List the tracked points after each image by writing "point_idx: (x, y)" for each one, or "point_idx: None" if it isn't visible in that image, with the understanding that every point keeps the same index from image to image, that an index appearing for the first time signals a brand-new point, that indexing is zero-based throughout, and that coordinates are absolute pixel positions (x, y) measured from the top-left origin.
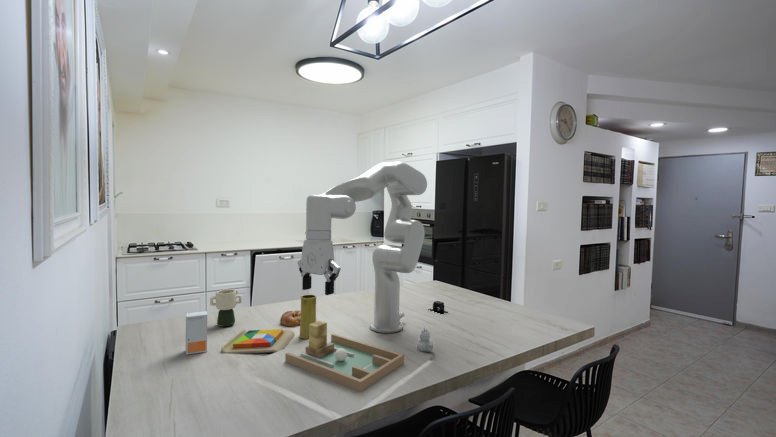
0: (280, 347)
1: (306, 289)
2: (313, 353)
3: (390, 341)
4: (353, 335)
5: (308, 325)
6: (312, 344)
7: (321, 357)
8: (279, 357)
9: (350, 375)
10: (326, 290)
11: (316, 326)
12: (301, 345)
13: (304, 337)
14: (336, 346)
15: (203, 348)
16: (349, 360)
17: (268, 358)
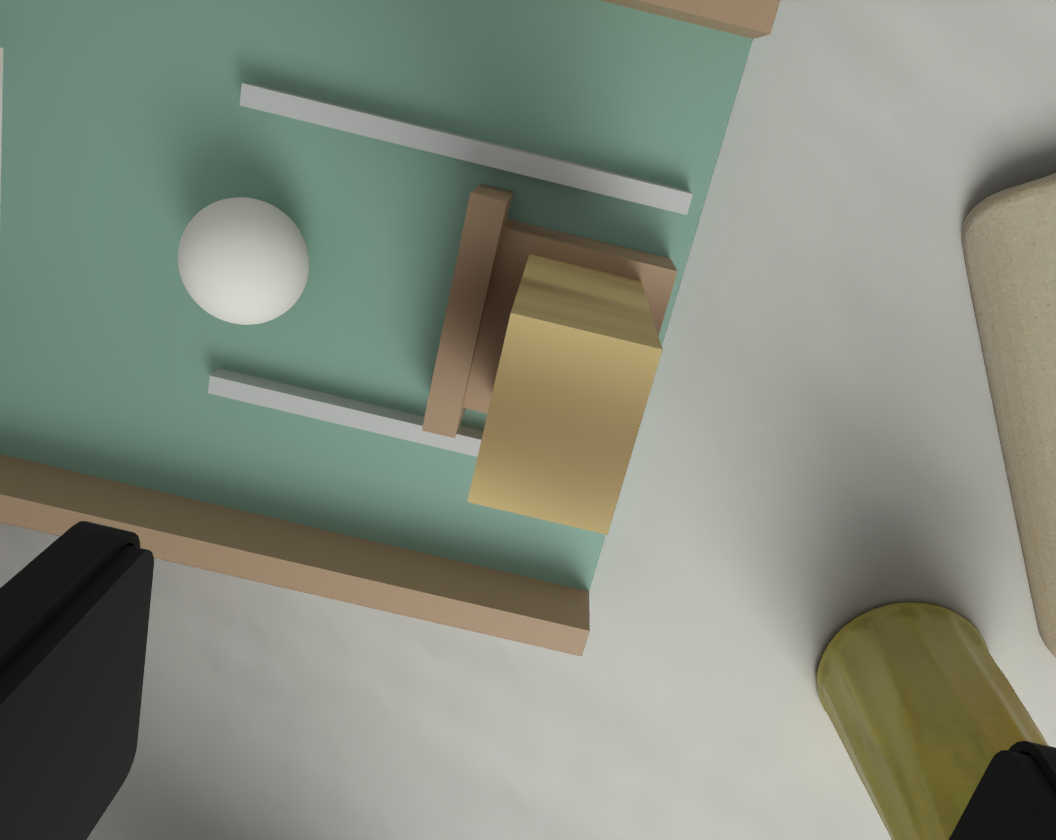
0: (1010, 294)
1: (974, 814)
2: (558, 235)
3: (171, 799)
4: (513, 809)
5: (910, 702)
6: (588, 277)
7: None
8: (919, 146)
9: (6, 4)
10: (10, 586)
11: (515, 318)
12: (852, 470)
13: (904, 608)
14: (480, 512)
15: None
16: None
17: (1020, 76)
